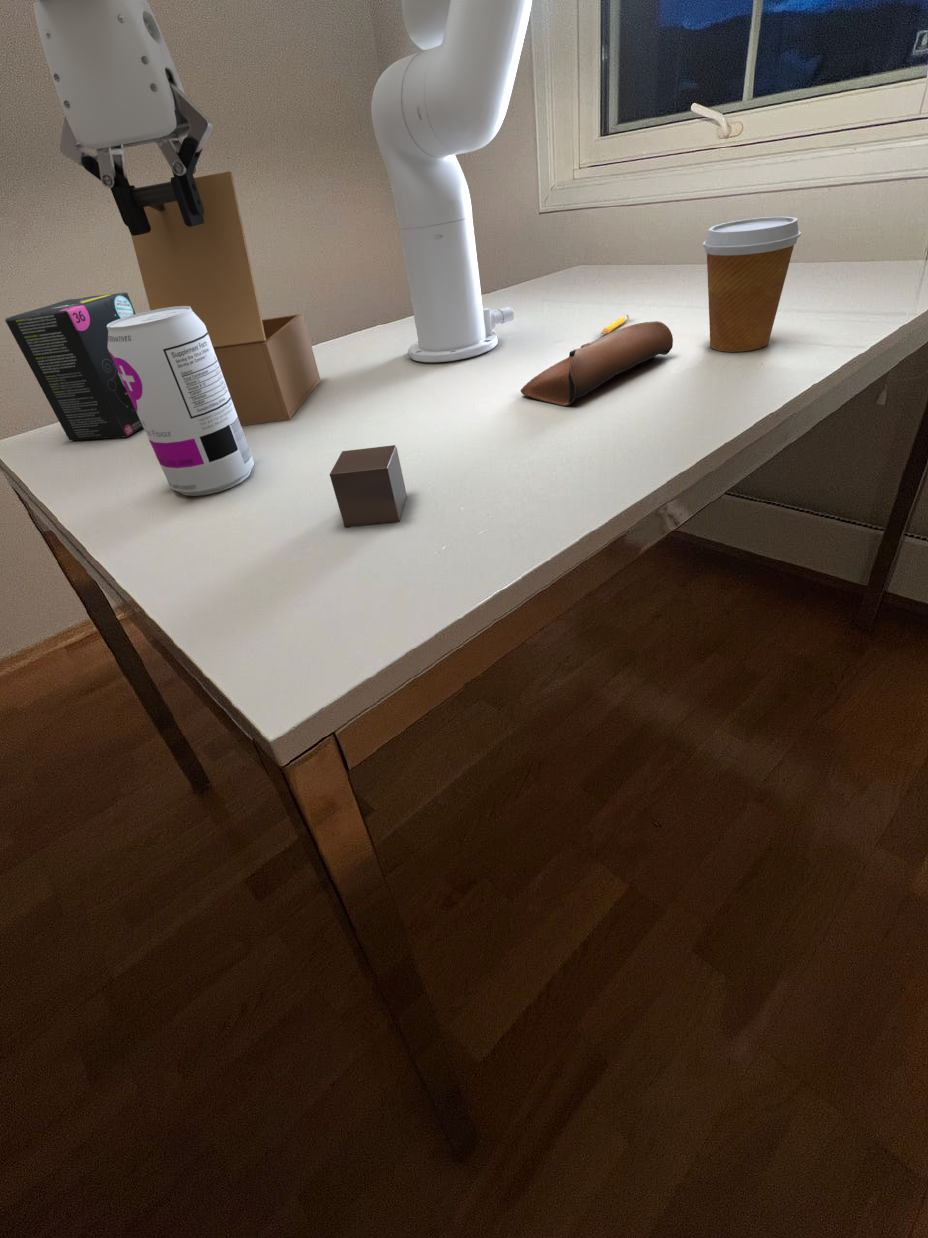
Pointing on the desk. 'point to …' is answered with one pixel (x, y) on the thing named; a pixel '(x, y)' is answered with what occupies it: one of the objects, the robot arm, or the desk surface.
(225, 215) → the flap
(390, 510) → the block
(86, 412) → the tampon box
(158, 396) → the supplement can
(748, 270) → the disposable coffee cup
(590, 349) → the sunglasses case
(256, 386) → the carton
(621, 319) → the pencil
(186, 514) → the desk surface
